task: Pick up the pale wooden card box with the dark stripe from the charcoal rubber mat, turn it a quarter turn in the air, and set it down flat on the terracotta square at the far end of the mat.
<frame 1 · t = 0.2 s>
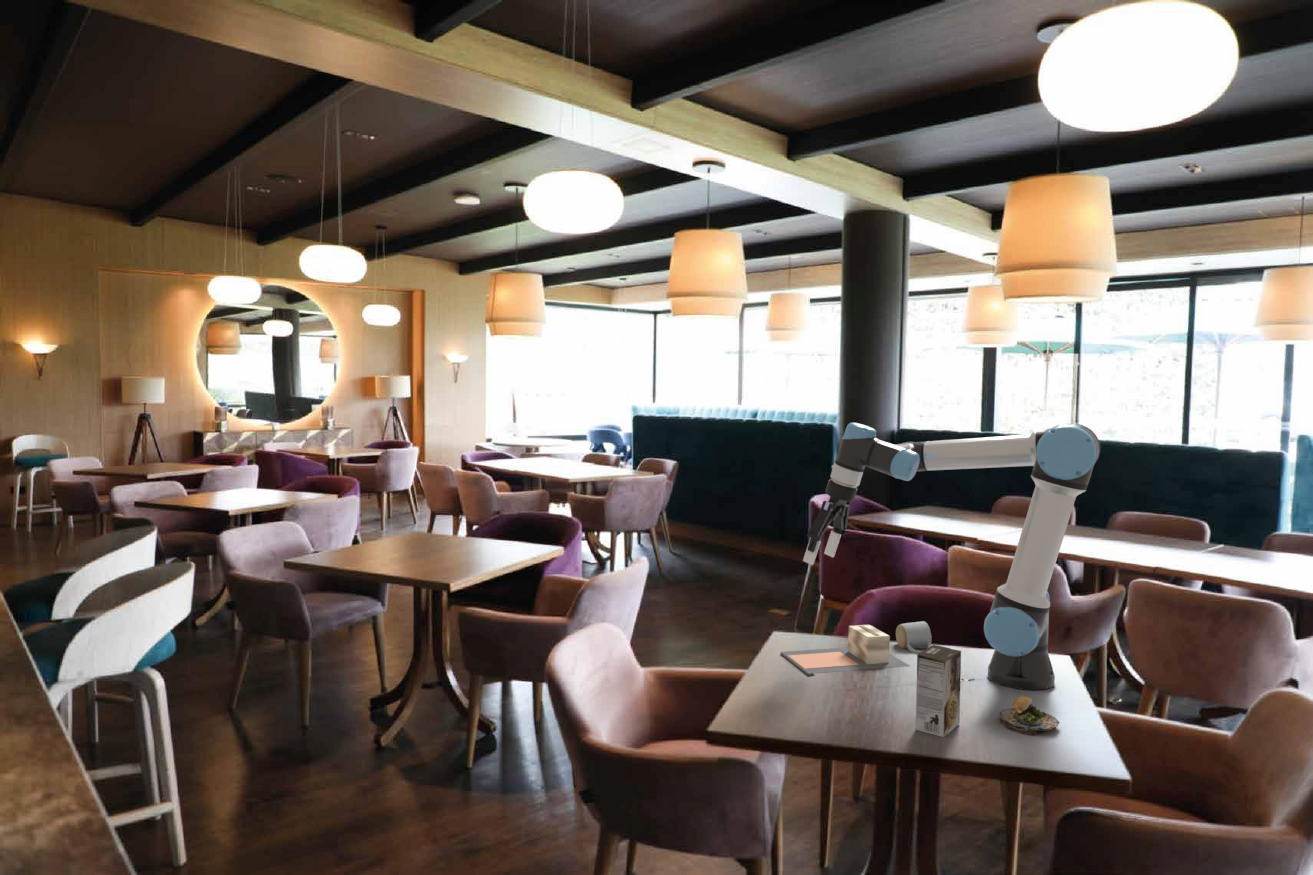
hand: (818, 559, 221), 27 cm above the table, tool tilted 15°, fingers open, 13 cm apart
coffee box: (937, 728, 179), on the table
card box: (868, 656, 225), point 1 cm above the table, touching mat
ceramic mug: (915, 650, 233), on the table
mat: (843, 660, 223), on the table
plate of food: (1028, 726, 181), on the table
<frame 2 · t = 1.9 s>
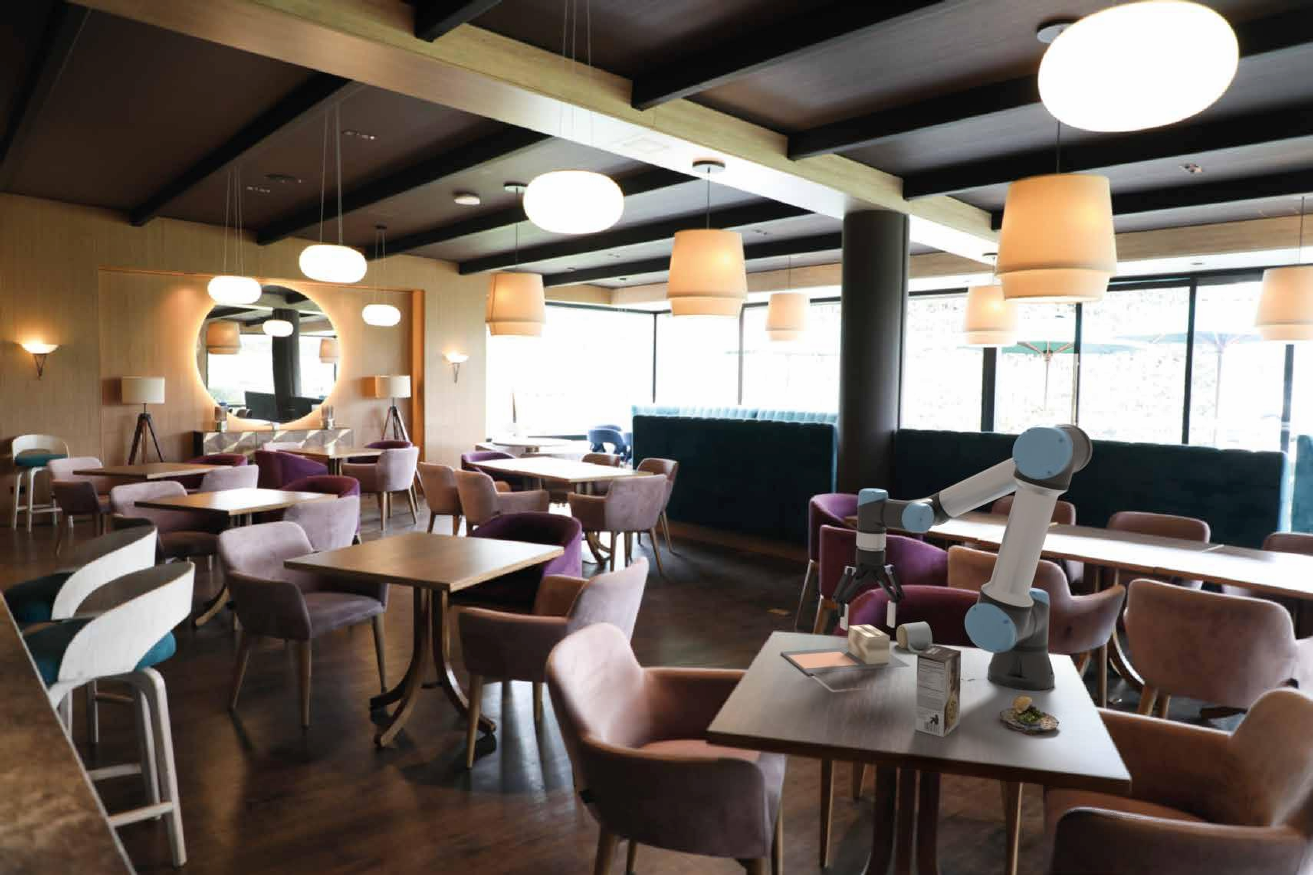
hand: (867, 627, 224), 8 cm above the table, tool pointing down, fingers open, 13 cm apart
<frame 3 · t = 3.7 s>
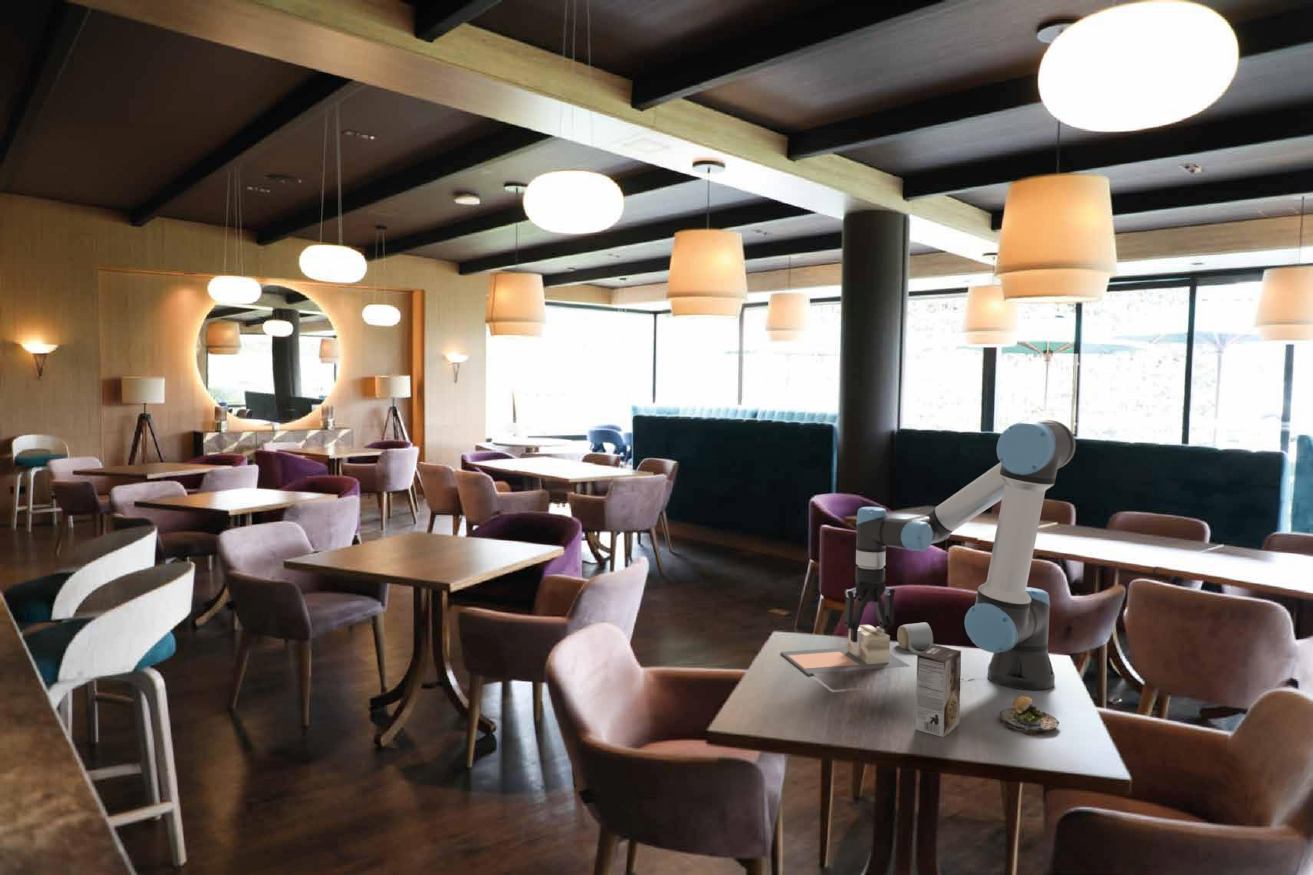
hand: (868, 652, 224), 2 cm above the table, tool pointing down, fingers closed on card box, 6 cm apart
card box: (868, 656, 225), point 1 cm above the table, touching gripper, mat
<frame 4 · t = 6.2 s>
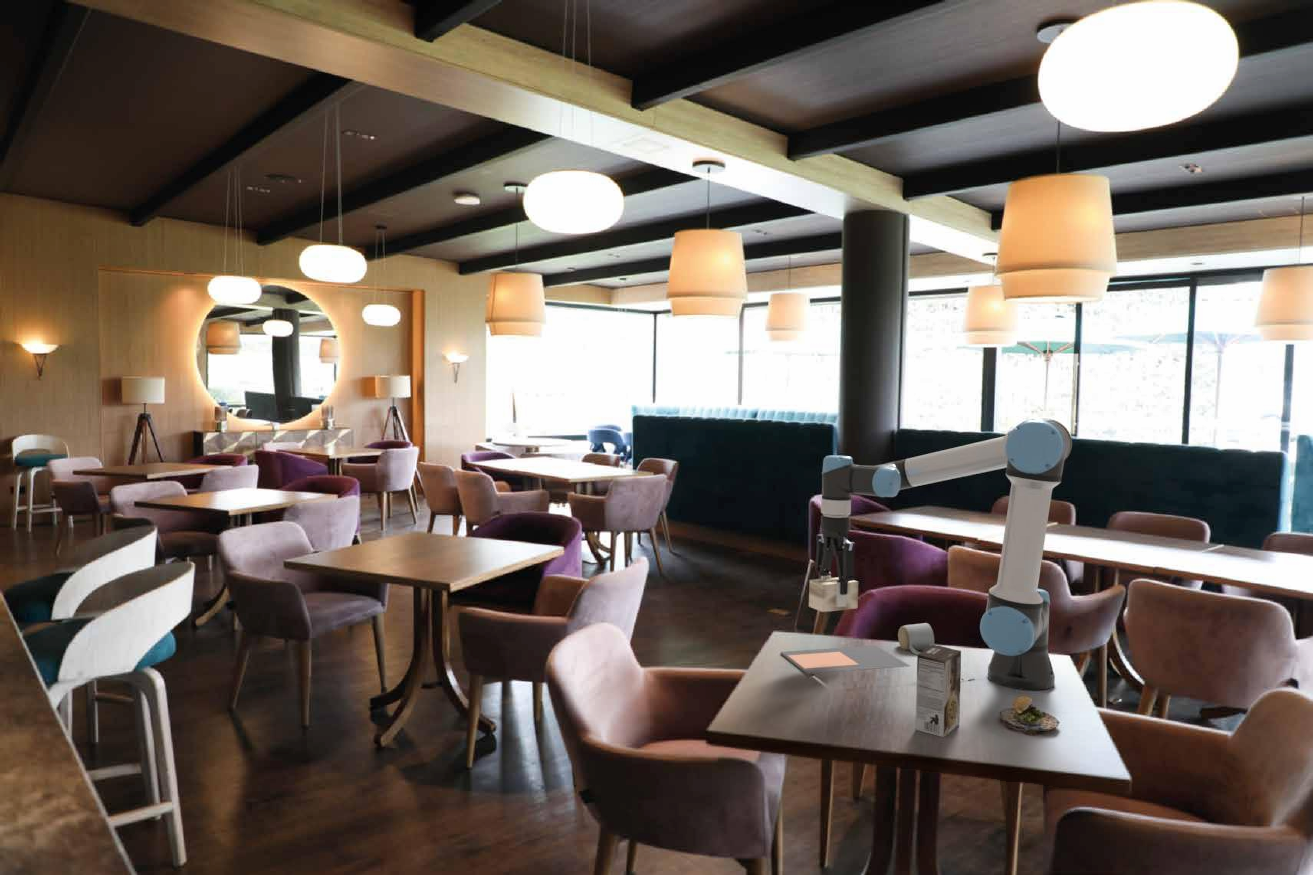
hand: (833, 603, 222), 15 cm above the table, tool pointing down, fingers closed on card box, 6 cm apart
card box: (833, 607, 222), point 14 cm above the table, touching gripper
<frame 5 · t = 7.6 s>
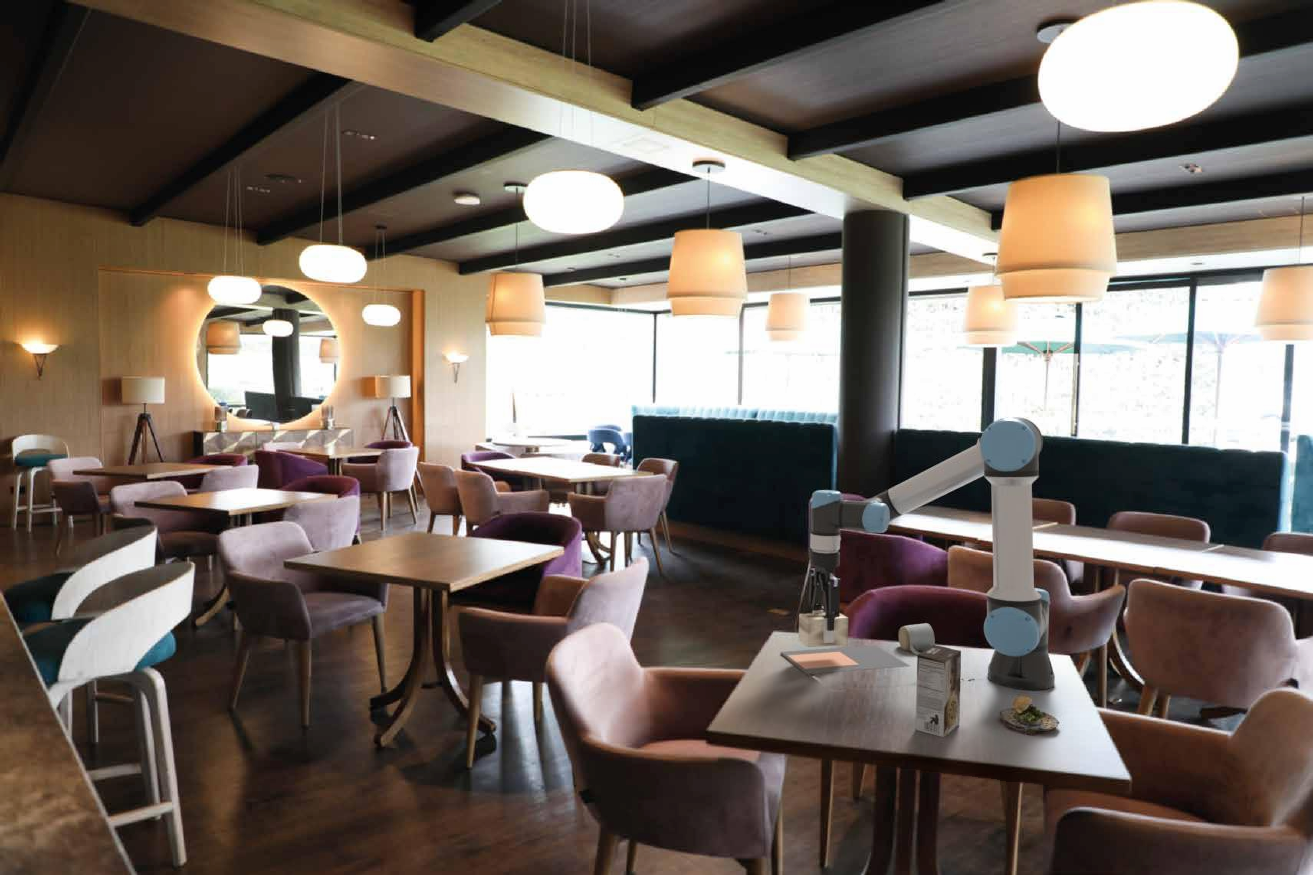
hand: (822, 638, 221), 6 cm above the table, tool pointing down, fingers closed on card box, 6 cm apart
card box: (822, 642, 221), point 5 cm above the table, touching gripper
when the fingers open (3 cm above the table, at t = 8.9 s): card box drops 1 cm, resting on mat.
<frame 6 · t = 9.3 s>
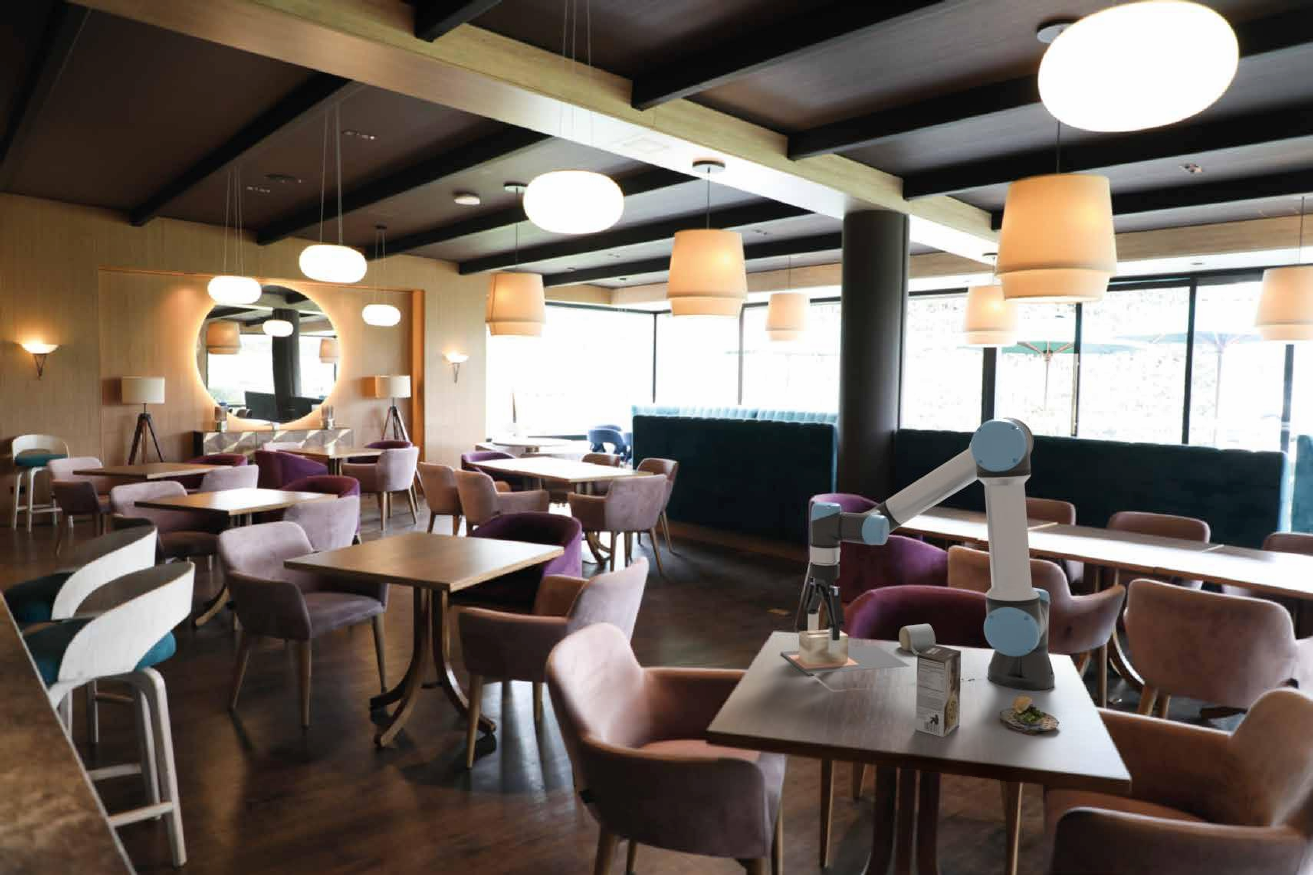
hand: (823, 644, 221), 5 cm above the table, tool pointing down, fingers open, 12 cm apart
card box: (823, 659, 221), point 1 cm above the table, touching mat
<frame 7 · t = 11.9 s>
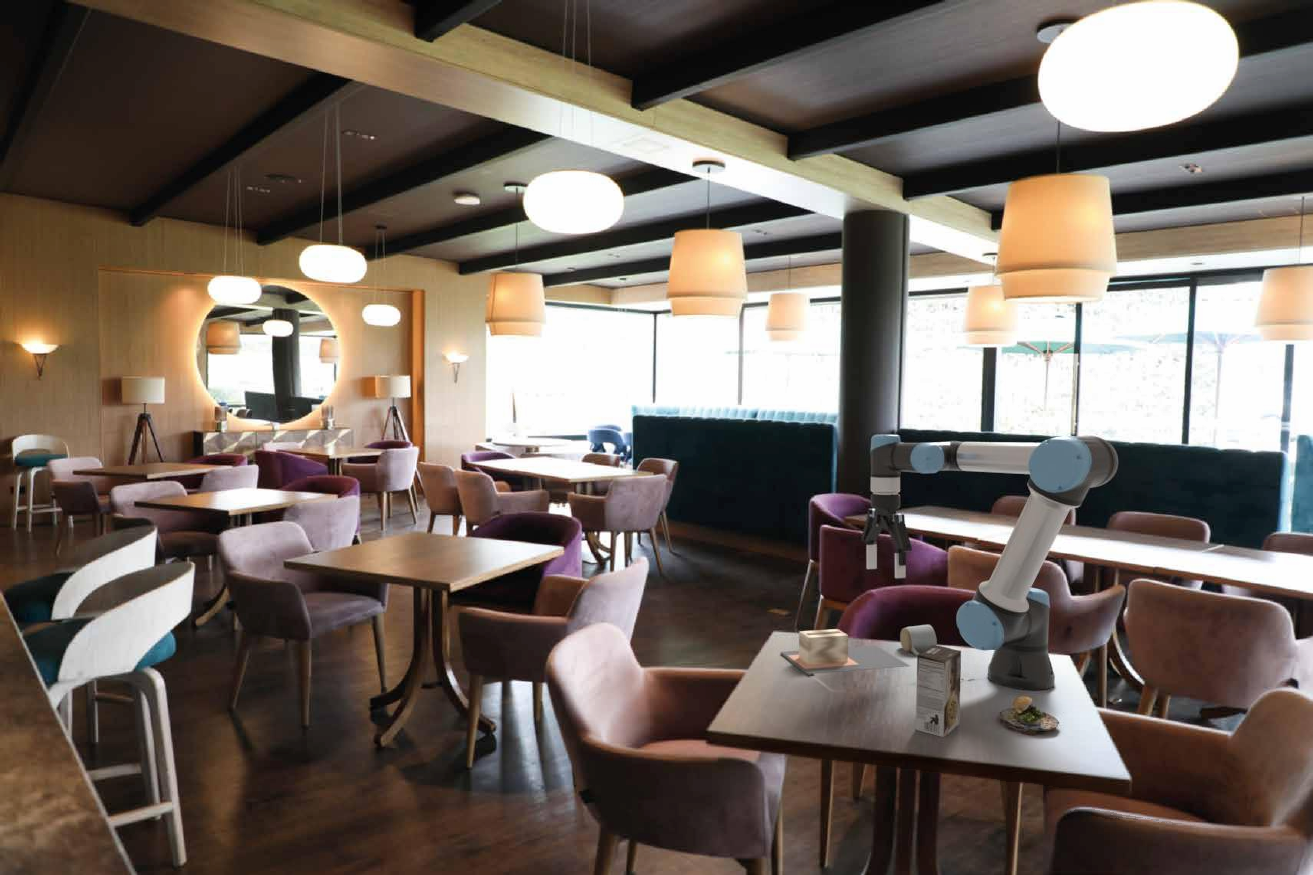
hand: (885, 573, 225), 23 cm above the table, tool pointing down, fingers open, 13 cm apart
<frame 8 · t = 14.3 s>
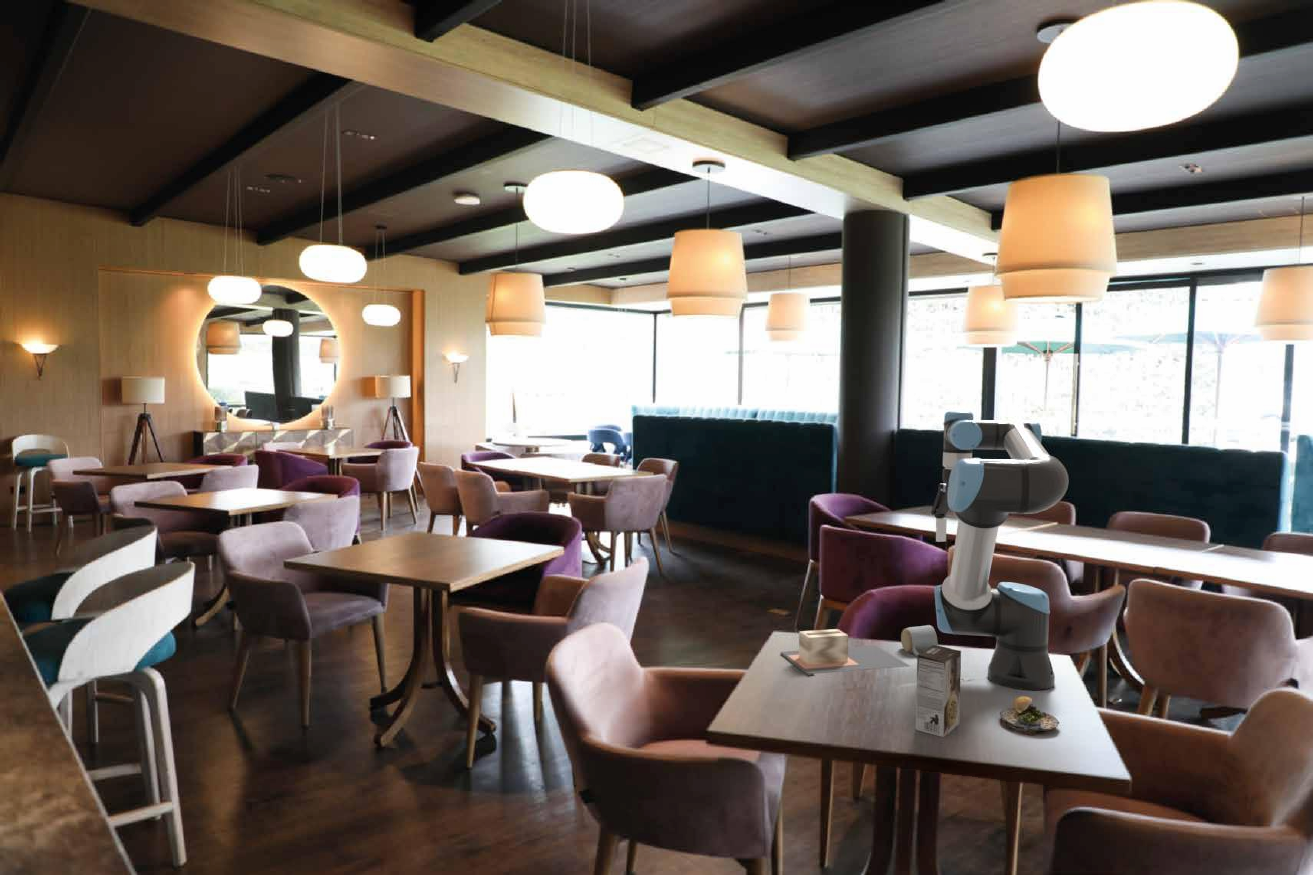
hand: (955, 545, 233), 29 cm above the table, tool pointing down, fingers open, 13 cm apart
at the end: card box inside the target area (0.1 cm from its centre), point 0.7 cm above the table; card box tilted 0°; the gripper is holding nothing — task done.
